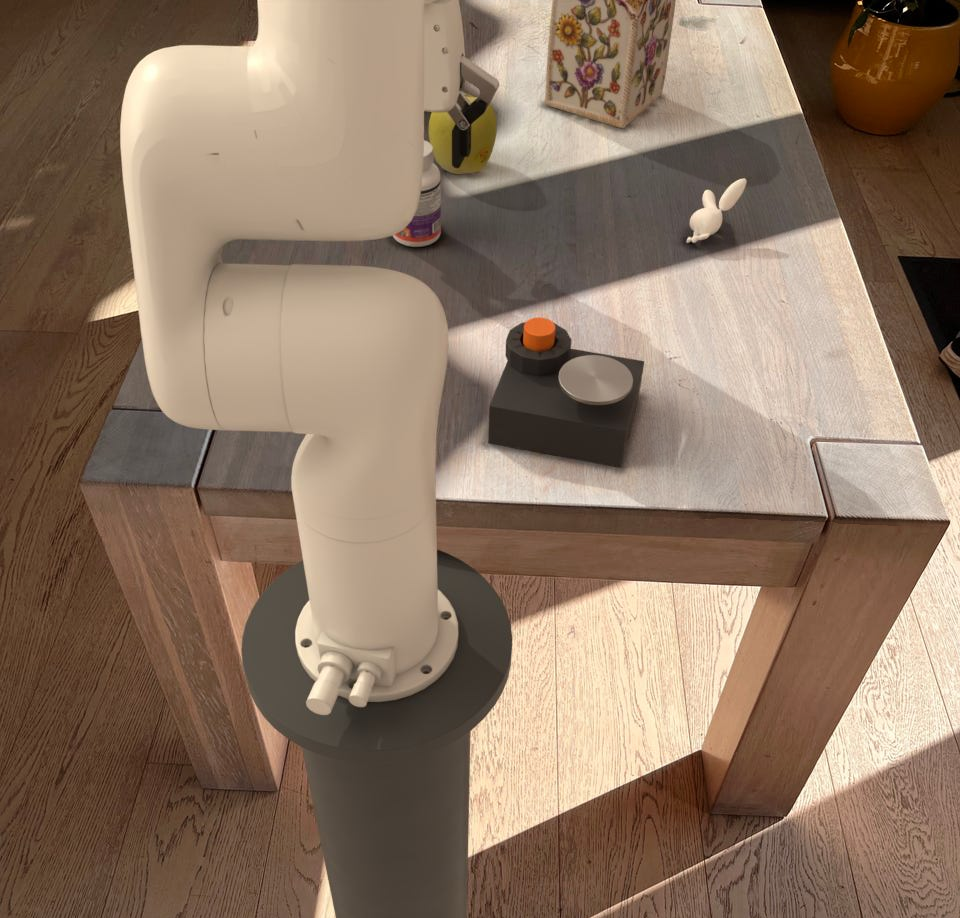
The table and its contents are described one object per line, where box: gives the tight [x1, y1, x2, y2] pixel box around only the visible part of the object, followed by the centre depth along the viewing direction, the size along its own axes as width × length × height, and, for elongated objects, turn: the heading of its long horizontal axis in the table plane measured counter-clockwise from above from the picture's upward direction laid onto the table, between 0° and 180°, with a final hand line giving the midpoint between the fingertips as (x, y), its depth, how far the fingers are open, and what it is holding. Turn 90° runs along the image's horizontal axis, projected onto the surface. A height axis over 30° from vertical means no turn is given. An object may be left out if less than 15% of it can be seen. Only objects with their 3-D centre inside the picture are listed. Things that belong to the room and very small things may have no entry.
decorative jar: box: [544, 0, 677, 129], centre depth 132 cm, size 12×12×18 cm
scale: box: [487, 321, 645, 468], centre depth 97 cm, size 11×12×6 cm
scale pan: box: [558, 355, 633, 405], centre depth 93 cm, size 6×6×1 cm
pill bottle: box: [392, 139, 442, 248], centre depth 115 cm, size 5×5×10 cm
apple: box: [428, 91, 498, 175], centre depth 124 cm, size 8×8×10 cm
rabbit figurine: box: [686, 177, 748, 244], centre depth 118 cm, size 6×4×8 cm
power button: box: [523, 316, 556, 352], centre depth 97 cm, size 3×3×2 cm
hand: (414, 154), depth 112 cm, fingers open, 9 cm apart
